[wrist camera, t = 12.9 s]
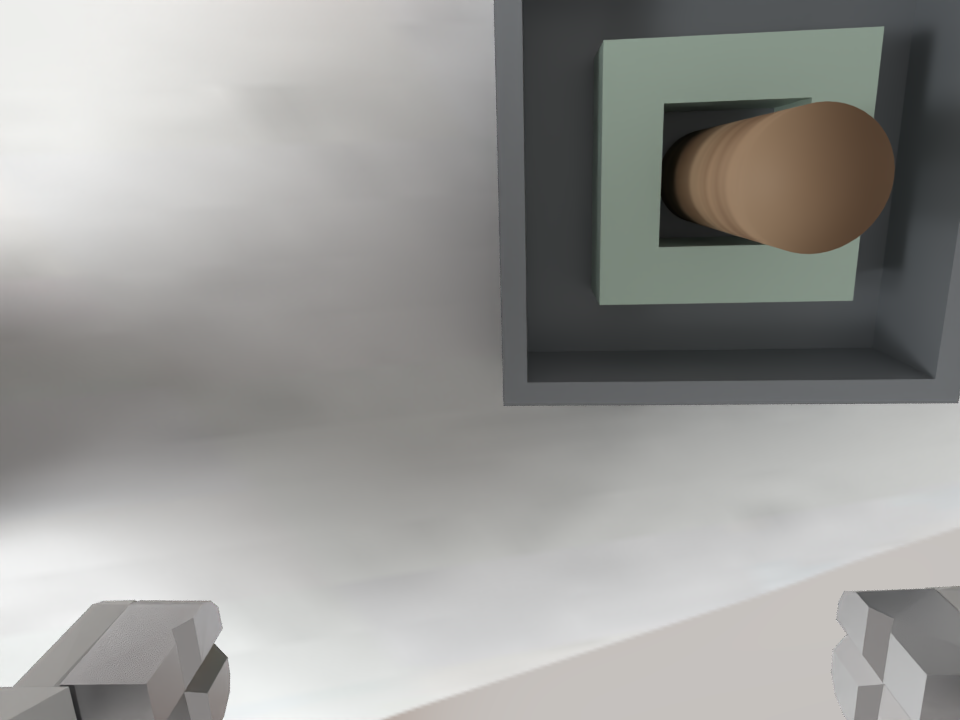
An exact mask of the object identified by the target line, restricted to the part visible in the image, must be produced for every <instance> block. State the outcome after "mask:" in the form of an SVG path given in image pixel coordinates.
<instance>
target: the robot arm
mask: <svg viewBox="0 0 960 720" xmlns="http://www.w3.org/2000/svg"><path fill="white" fill-rule="evenodd" d="M836 620H837V621H838V622H839V624H840V625H841V627H842V628H843V629H844V631H845V632H846V633H847V635H846V636H845V637H844V638H843V639H842V640H841V641H840V642H839V643H838V645H836V647H835V648H834V649H833V655H832V669H831V674H832V680H833V685H834V691H835V696H836V699H837V701H838V704H839V706H840V708H841V711H842V713H843V715H844V717H845V718H846V720H960V586H951V587H931V588H925V589H902V590H901V589H899V590H867V591H844V592H843V594H842V596H841V598H840V600H839V603H838V610H837V618H836ZM222 629H223V627H222V623H221V618H220V613H219V608H218V606H217V605H215V604H214V603H213V602H212V601H165V600H140V601H135V600H123V601H102V602H99V603H95V604H92V605H91V607H90V608H89V609H88V610H87V611H86V612H85V613H84V614H83V615H82V616H81V617H80V618H79V619H78V620H77V621H76V622H75V623H74V624H73V625H72V626H71V627H70V628H69V629H68V630H67V631H66V632H65V633H64V634H63V635H62V636H61V637H60V639H59V640H58V641H57V642H56V643H55V644H54V645H53V646H52V647H51V648H50V649H49V650H48V651H47V652H46V653H45V654H44V655H43V656H42V657H41V658H40V659H39V660H38V661H37V662H36V663H35V664H34V665H33V666H32V667H31V668H30V670H29V671H28V672H27V673H26V674H25V675H24V676H23V677H22V678H21V679H20V680H19V681H18V682H17V683H16V684H15V685H14V686H13V687H0V720H222V719H223V717H224V714H225V710H226V706H227V701H228V697H229V693H230V670H229V663H228V657H227V656H226V655H225V654H224V653H223V652H222V651H221V650H220V649H219V648H218V647H217V646H216V645H215V644H214V642H215V641H216V639H217V637H218V636H219V634H220V632H221V631H222Z"/></svg>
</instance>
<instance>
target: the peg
mask: <svg viewBox="0 0 960 720" xmlns="http://www.w3.org/2000/svg"><path fill="white" fill-rule="evenodd" d="M894 172H895V164H894V155H893V150H892V147H891V144H890V141H889V139H888V137H887V135H886V133H885V131H884V130H883V128H882V127H881V126H880V124H879V123H878V122H877V121H876V120H875V119H874V118H873V117H872V116H870V115H869V114H867V113H866V112H865V111H863V110H861V109H859V108H857V107H855V106H852V105H849V104H846V103H841V102H831V101H824V102H815V103H810V104H806V105H802V106H798V107H794V108H789V109H785V110H781V111H777V112H773V113H769V114H764V115H760V116H756V117H752V118H748V119H744V120H740V121H735V122H731V123H727V124H723V125H719V126H715V127H711V128H706V129H702V130H698V131H694V132H691V133H689V134H687V135H685V136H683V137H682V138H680V139H679V140H677V141H676V142H675V143H674V144H673V145H672V146H671V147H670V148H669V149H668V151H667V152H666V154H665V156H664V158H663V159H662V171H661V198H662V200H663V202H664V204H665V205H666V207H667V208H668V209H669V210H670V211H671V212H672V213H673V214H674V215H676V216H677V217H679V218H681V219H683V220H686V221H689V222H692V223H696V224H699V225H702V226H706V227H709V228H712V229H716V230H719V231H722V232H725V233H729V234H732V235H735V236H739V237H742V238H745V239H749V240H752V241H755V242H759V243H762V244H765V245H769V246H772V247H775V248H779V249H782V250H785V251H789V252H793V253H799V254H818V253H823V252H828V251H831V250H834V249H837V248H840V247H842V246H844V245H846V244H848V243H850V242H851V241H853V240H855V239H856V238H858V237H859V236H860V235H861V234H863V233H864V232H865V231H866V230H867V229H868V228H869V227H870V226H871V225H872V224H873V223H874V221H875V220H876V219H877V218H878V216H879V215H880V213H881V212H882V210H883V209H884V207H885V205H886V203H887V201H888V198H889V196H890V193H891V190H892V186H893V181H894Z"/></svg>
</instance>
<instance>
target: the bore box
mask: <svg viewBox="0 0 960 720" xmlns="http://www.w3.org/2000/svg"><path fill="white" fill-rule="evenodd" d="M494 27H495V68H496V109H497V151H498V192H499V234H500V275H501V317H502V358H503V400H504V406H540V405H714V404H888V403H958V401H959V395H960V0H494ZM824 101H831V102H841V103H846V104H849V105H852V106H855V107H857V108H859V109H861V110H863V111H865V112H866V113H867V114H869V115H870V116H872V117H873V118H874V119H875V120H876V121H877V122H878V123H879V124H880V126H881V127H882V128H883V130H884V131H885V133H886V135H887V137H888V139H889V141H890V144H891V147H892V150H893V155H894V164H895V172H894V181H893V186H892V190H891V193H890V196H889V198H888V201H887V203H886V205H885V207H884V209H883V210H882V212H881V213H880V215H879V216H878V218H877V219H876V220H875V221H874V223H873V224H872V225H871V226H870V227H869V228H868V229H867V230H866V231H865V232H864V233H863V234H861V235H860V236H859V237H858V238H856V239H855V240H853V241H851V242H850V243H848V244H846V245H844V246H842V247H840V248H837V249H834V250H831V251H828V252H823V253H818V254H799V253H793V252H789V251H785V250H782V249H779V248H775V247H772V246H769V245H765V244H762V243H759V242H755V241H752V240H749V239H745V238H742V237H739V236H735V235H732V234H729V233H725V232H722V231H719V230H716V229H712V228H709V227H706V226H702V225H699V224H696V223H692V222H689V221H686V220H683V219H681V218H679V217H677V216H676V215H674V214H673V213H672V212H671V211H670V210H669V209H668V208H667V207H666V205H665V204H664V202H663V200H662V198H661V171H662V159H663V158H664V156H665V154H666V152H667V151H668V149H669V148H670V147H671V146H672V145H673V144H674V143H675V142H676V141H677V140H679V139H680V138H682V137H683V136H685V135H687V134H689V133H691V132H694V131H698V130H702V129H706V128H711V127H715V126H719V125H723V124H727V123H731V122H735V121H740V120H744V119H748V118H752V117H756V116H760V115H764V114H769V113H773V112H777V111H781V110H785V109H789V108H794V107H798V106H802V105H806V104H810V103H815V102H824Z"/></svg>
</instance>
